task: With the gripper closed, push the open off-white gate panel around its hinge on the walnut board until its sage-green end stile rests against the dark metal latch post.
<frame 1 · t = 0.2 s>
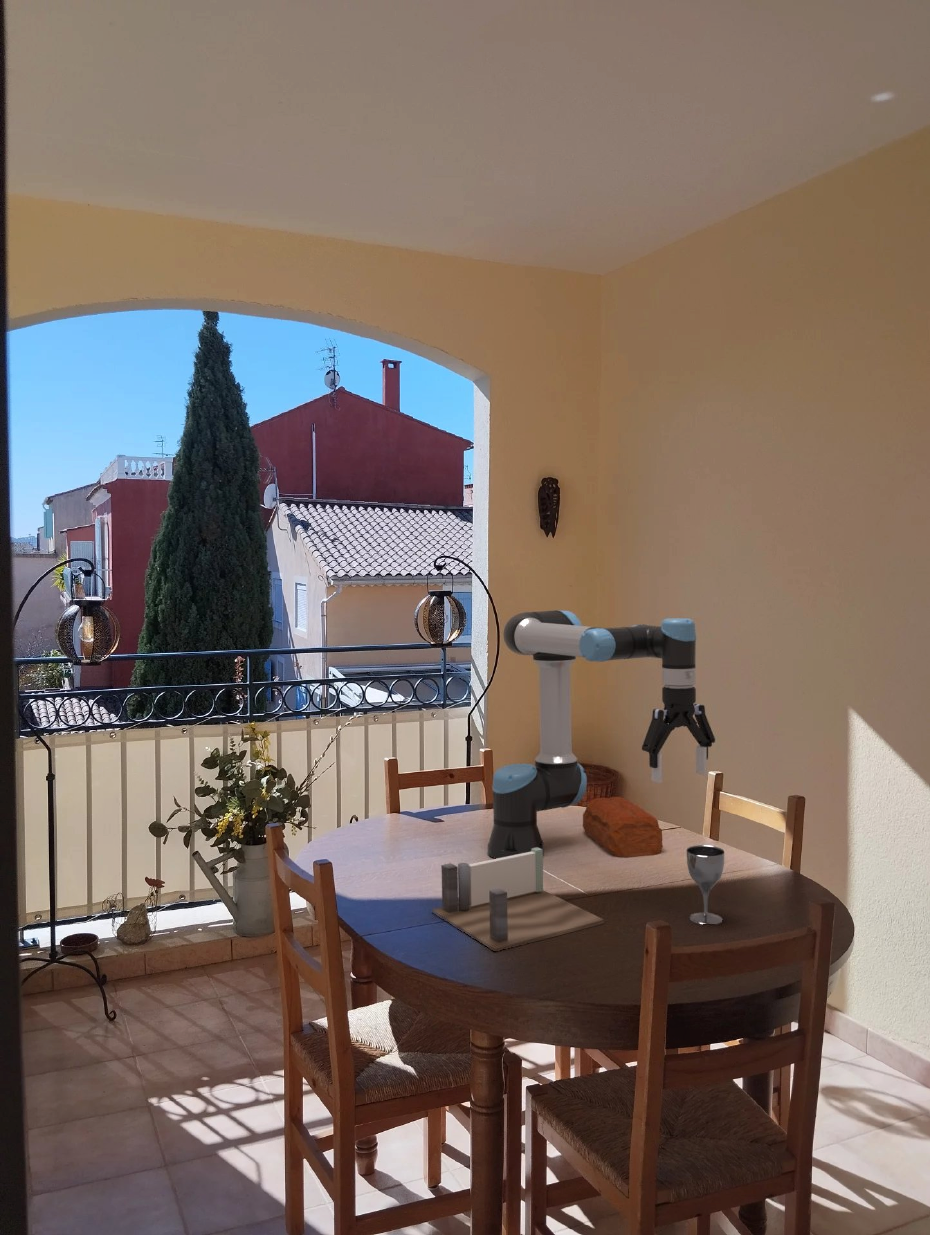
hand: (679, 778, 219), 28 cm above the table, tool pointing down, fingers open, 13 cm apart
wine glass: (705, 919, 206), on the table
gate frame: (516, 918, 209), on the table
bread: (621, 843, 264), on the table
gate: (500, 878, 217), point 6 cm above the table, hinge at 90.0°
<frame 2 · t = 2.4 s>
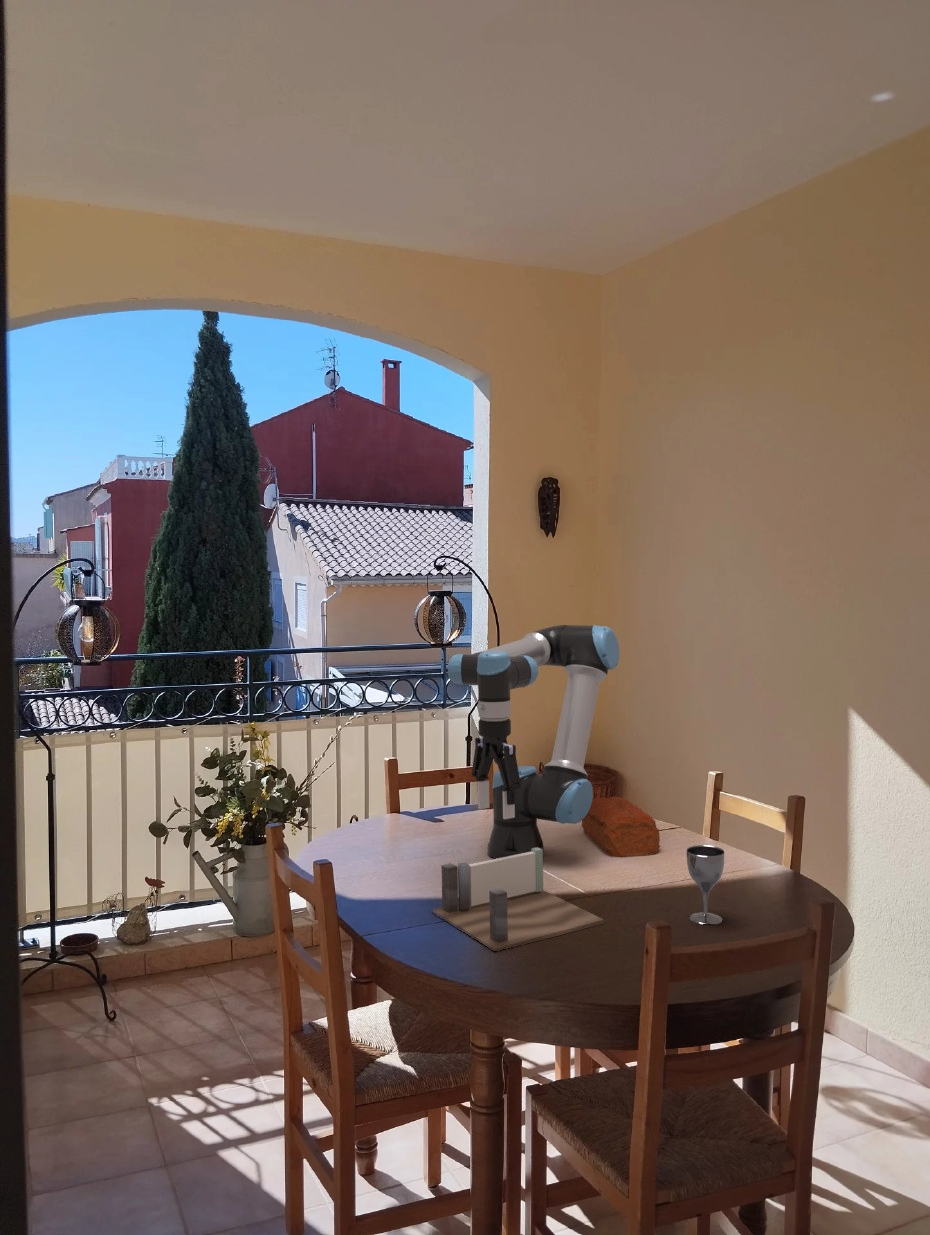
hand: (496, 813, 222), 20 cm above the table, tool pointing down, fingers open, 10 cm apart
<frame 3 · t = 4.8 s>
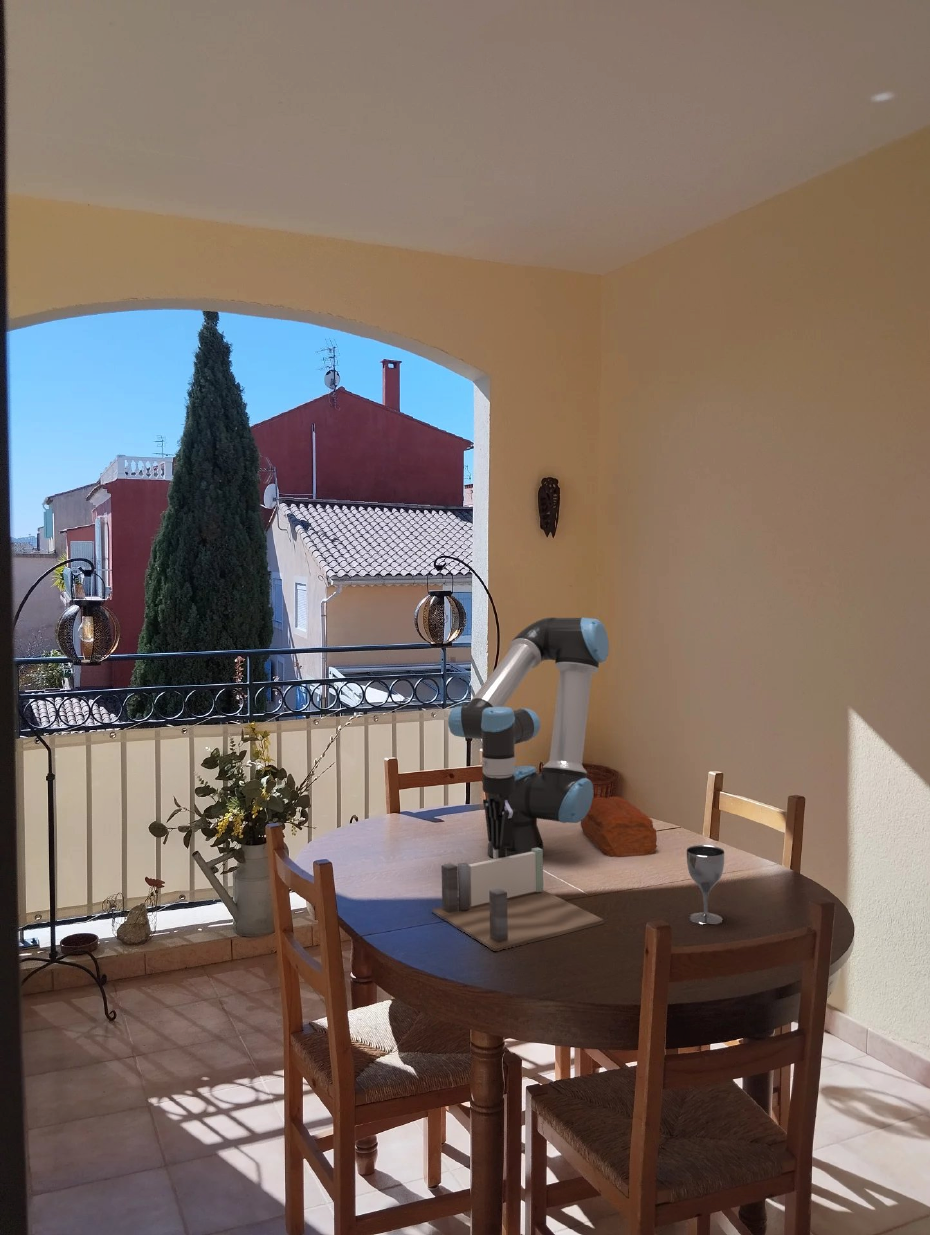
hand: (499, 875, 221), 6 cm above the table, tool pointing down, fingers closed
gate: (500, 878, 217), point 6 cm above the table, hinge at 89.8°, touching gripper
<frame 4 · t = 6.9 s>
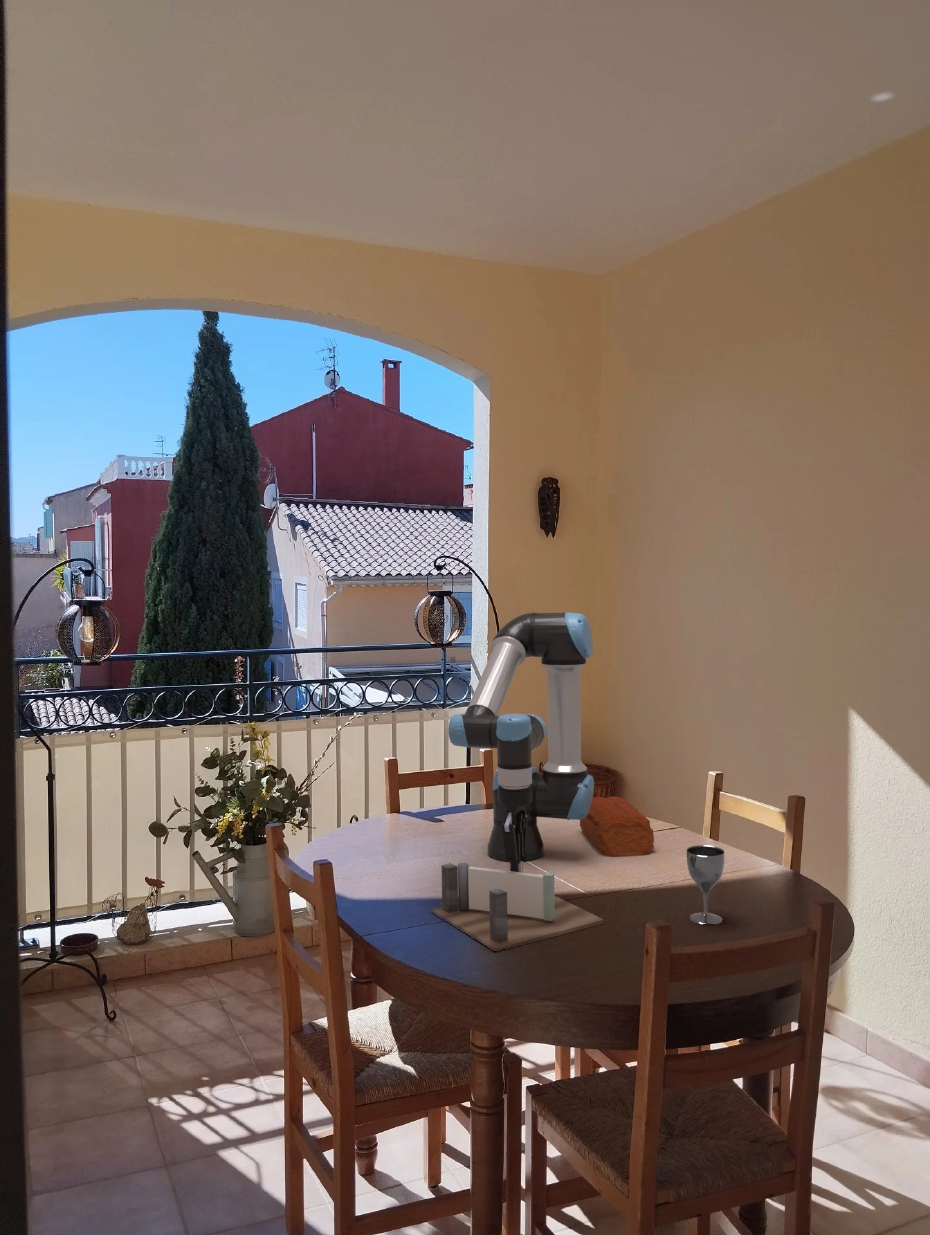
hand: (516, 890, 210), 6 cm above the table, tool pointing down, fingers closed
gate: (504, 891, 208), point 6 cm above the table, hinge at 35.7°, touching gripper
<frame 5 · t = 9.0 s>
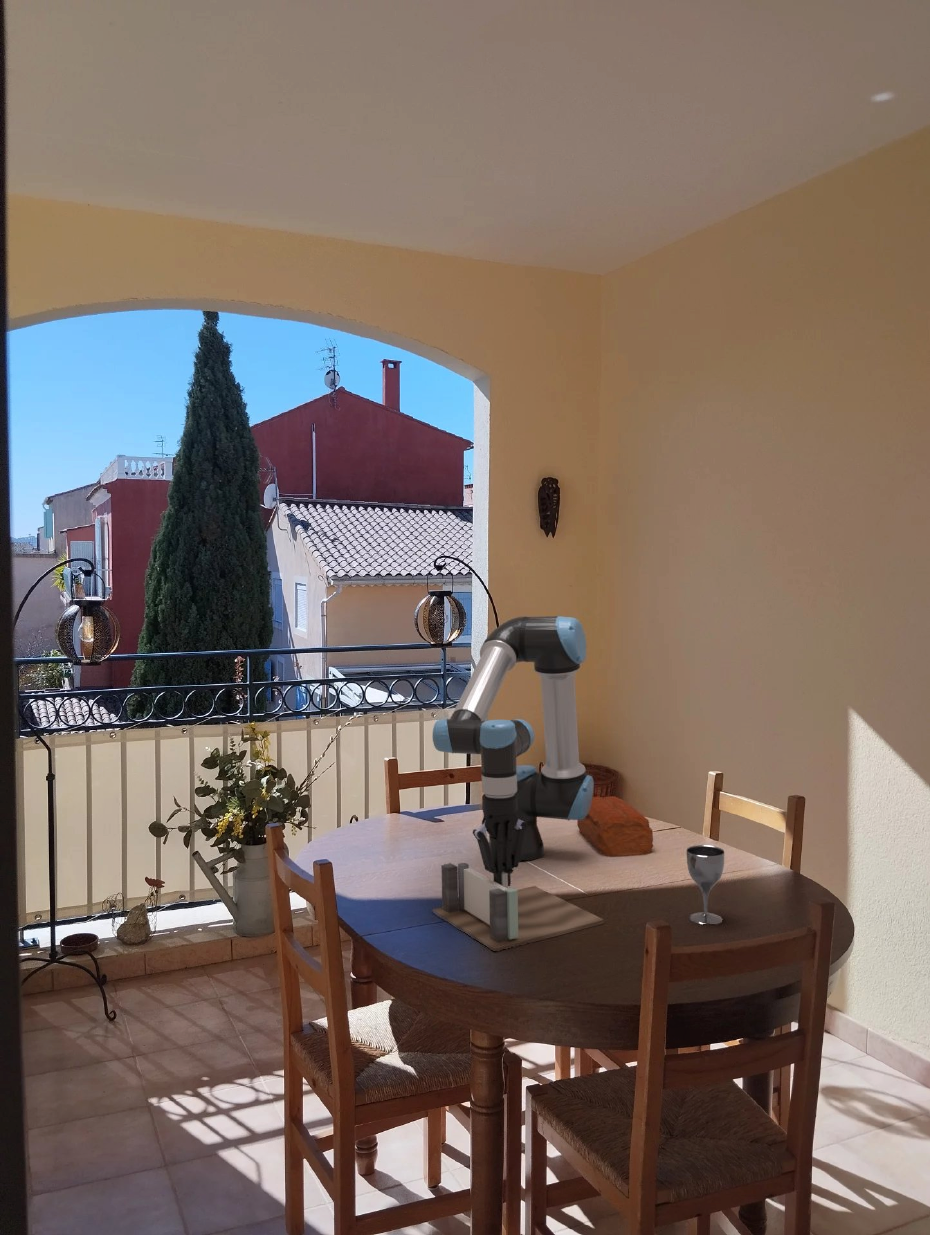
hand: (502, 901, 204), 5 cm above the table, tool pointing down, fingers closed
gate: (486, 899, 204), point 6 cm above the table, hinge at -1.5°, touching gate frame, gripper
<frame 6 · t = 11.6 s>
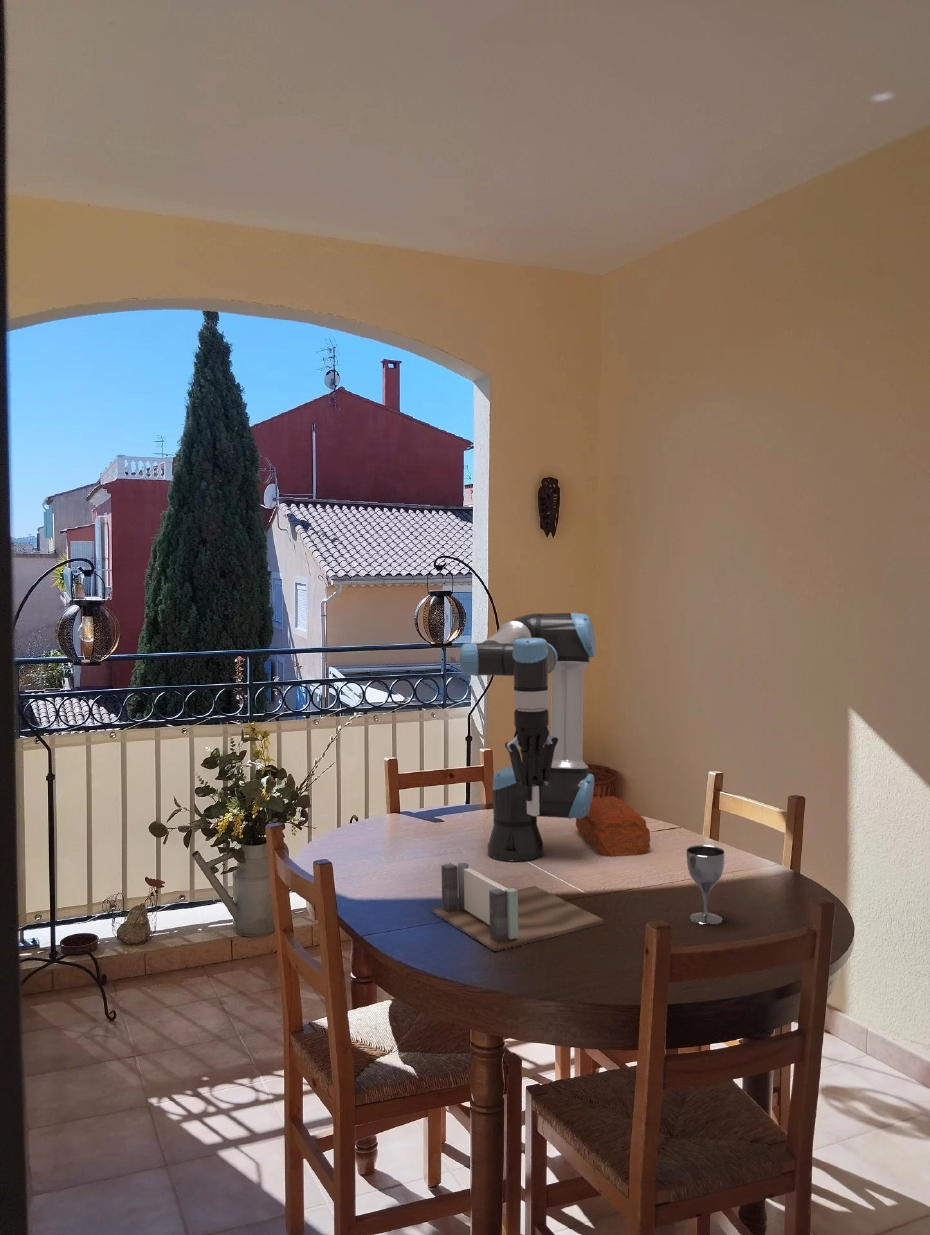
hand: (533, 814, 210), 22 cm above the table, tool pointing down, fingers closed
gate: (486, 899, 204), point 6 cm above the table, hinge at -1.4°, touching gate frame
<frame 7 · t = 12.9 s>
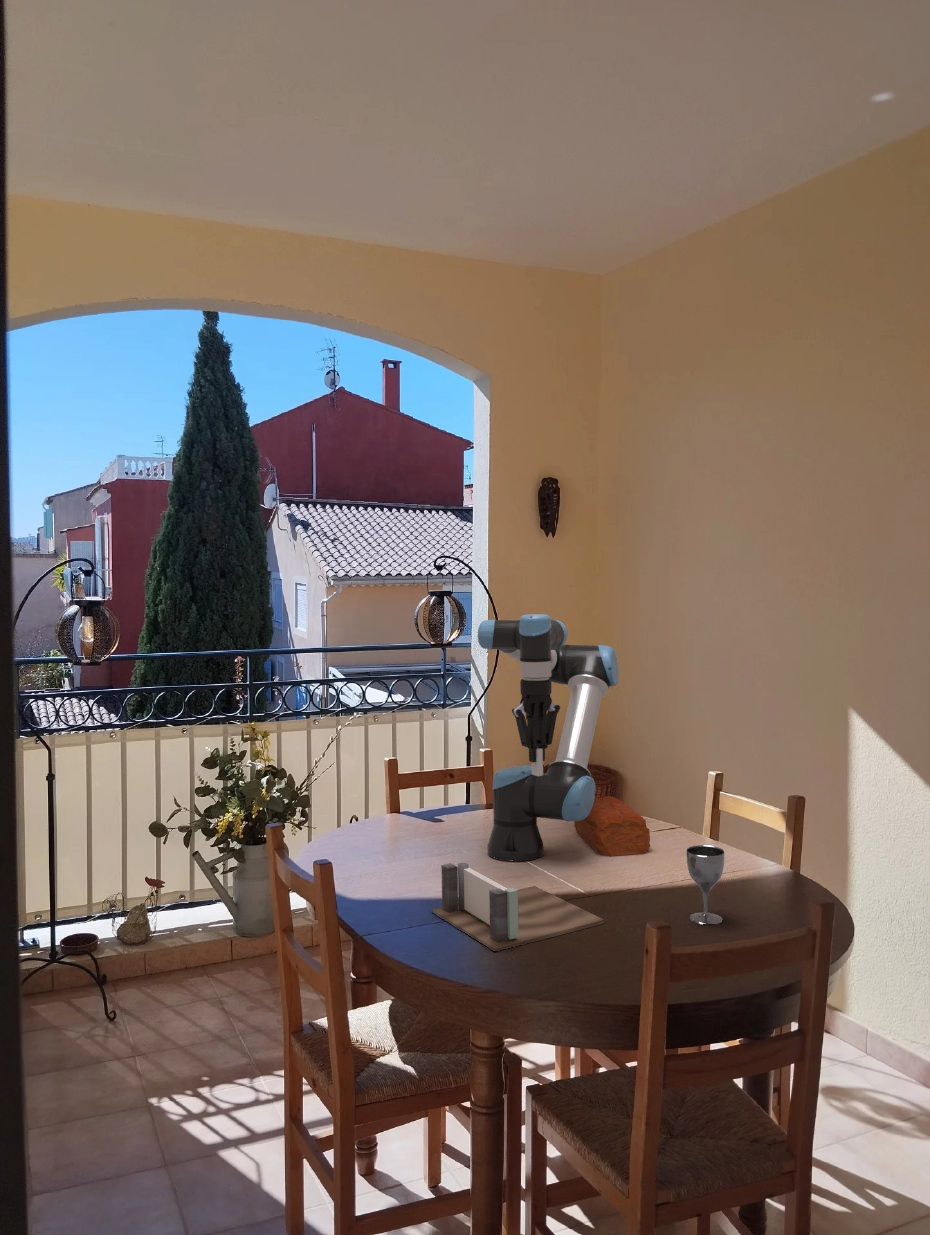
hand: (537, 774, 231), 26 cm above the table, tool pointing down, fingers closed
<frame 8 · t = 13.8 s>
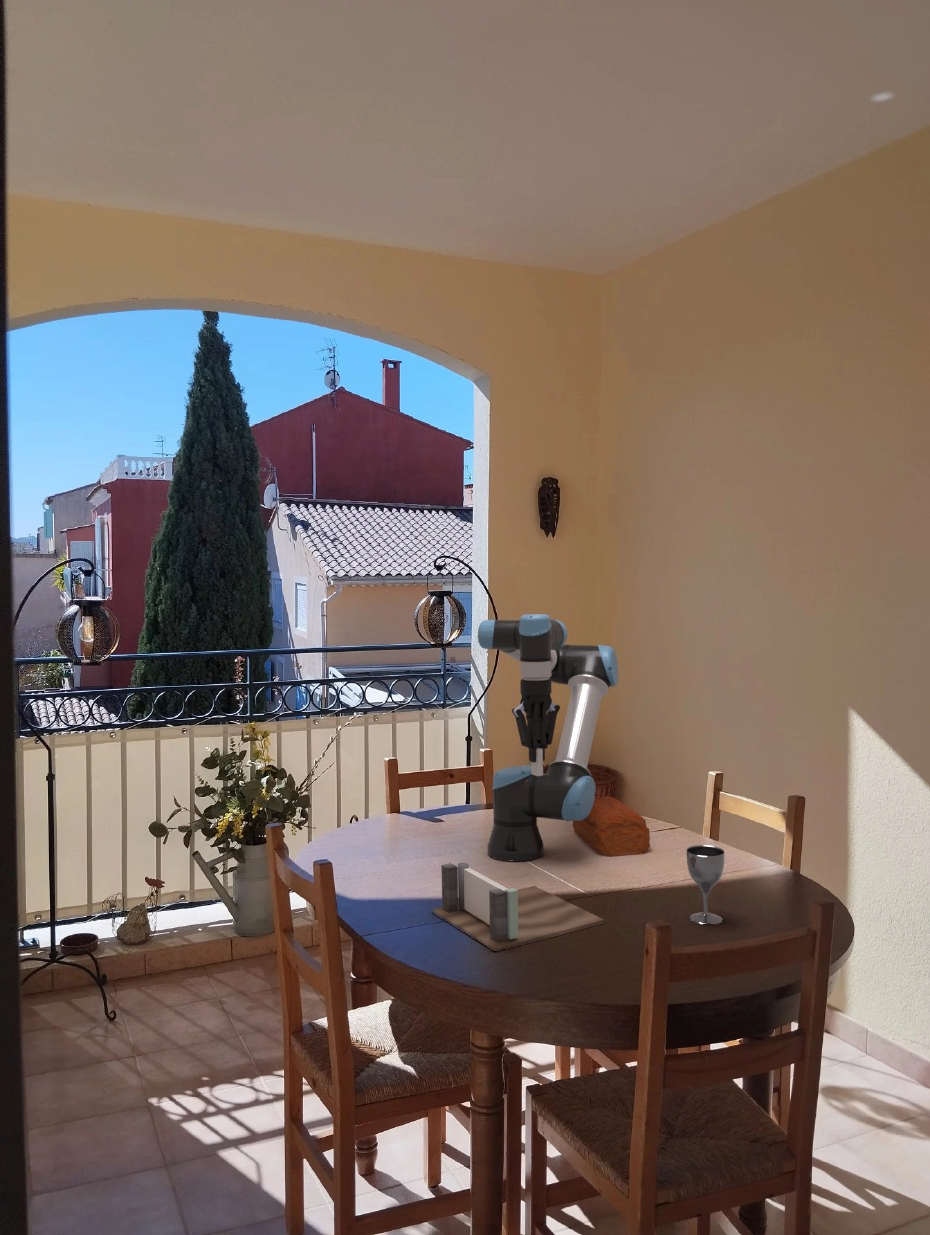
hand: (537, 774, 231), 26 cm above the table, tool pointing down, fingers closed
at the end: gate at -1° (first picture: +90°); wine glass moved 0.2 cm from its start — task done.
